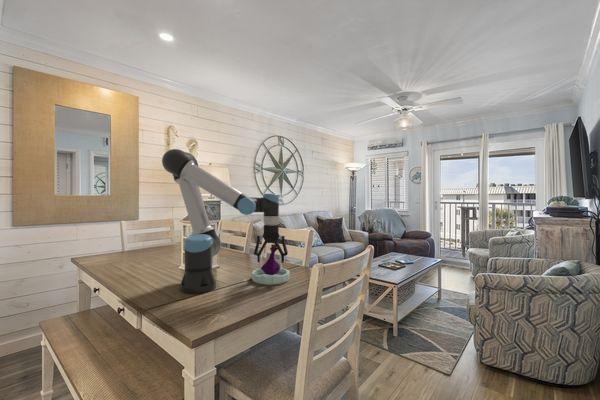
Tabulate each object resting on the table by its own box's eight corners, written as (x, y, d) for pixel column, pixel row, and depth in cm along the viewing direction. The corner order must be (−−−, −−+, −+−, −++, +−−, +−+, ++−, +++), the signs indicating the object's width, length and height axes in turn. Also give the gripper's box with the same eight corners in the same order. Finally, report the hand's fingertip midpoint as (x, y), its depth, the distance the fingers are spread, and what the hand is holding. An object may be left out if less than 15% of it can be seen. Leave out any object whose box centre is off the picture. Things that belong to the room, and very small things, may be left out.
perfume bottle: (281, 273, 147) (281, 237, 147) (272, 276, 141) (273, 239, 140) (269, 271, 151) (269, 236, 150) (260, 274, 144) (260, 238, 144)
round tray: (248, 284, 137) (248, 276, 137) (256, 273, 155) (256, 266, 155) (286, 285, 135) (286, 277, 135) (291, 274, 154) (291, 267, 154)
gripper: (247, 224, 142) (247, 270, 142) (292, 225, 140) (291, 271, 141) (251, 223, 149) (250, 266, 150) (293, 224, 148) (293, 267, 148)
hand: (270, 268), depth 145 cm, fingers closed on perfume bottle, 9 cm apart
